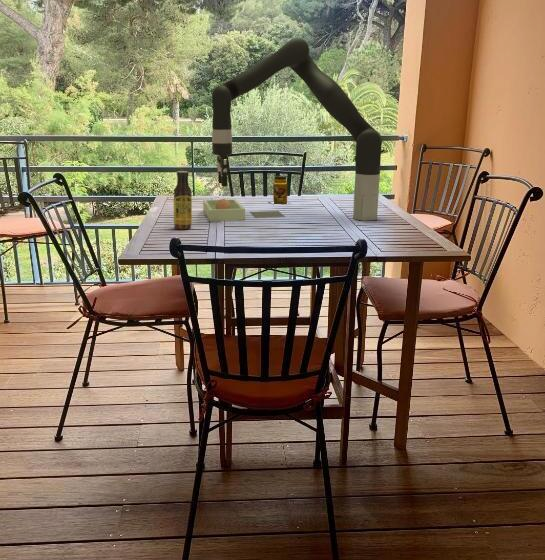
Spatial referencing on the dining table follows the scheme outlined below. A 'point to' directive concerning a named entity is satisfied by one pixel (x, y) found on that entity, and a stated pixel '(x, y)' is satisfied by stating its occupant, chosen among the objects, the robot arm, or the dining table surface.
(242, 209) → the tray
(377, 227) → the dining table surface
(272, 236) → the dining table surface
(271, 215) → the mat
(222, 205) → the ball
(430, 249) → the dining table surface
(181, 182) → the sauce bottle
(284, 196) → the condiment
